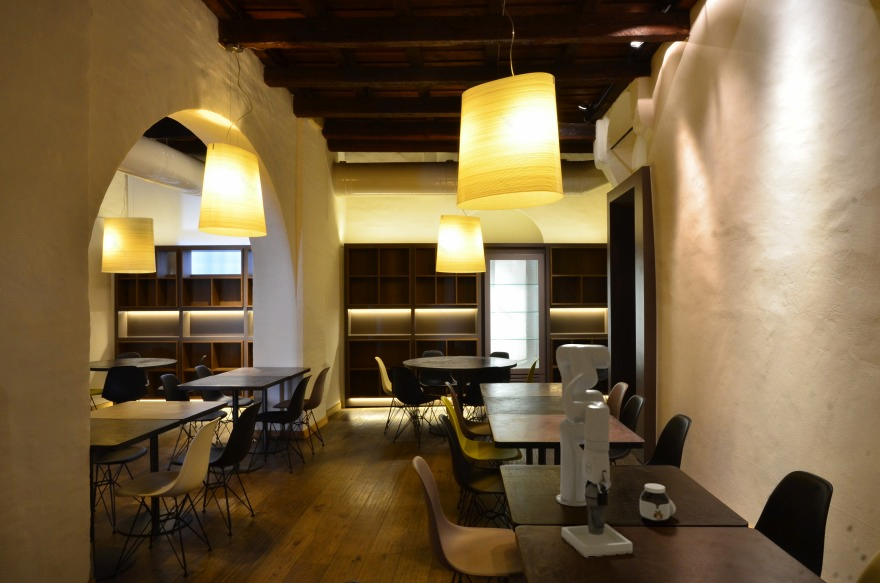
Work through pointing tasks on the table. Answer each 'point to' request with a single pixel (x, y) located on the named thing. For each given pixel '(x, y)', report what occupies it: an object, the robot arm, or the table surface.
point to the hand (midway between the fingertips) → (596, 500)
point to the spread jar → (656, 504)
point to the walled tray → (597, 541)
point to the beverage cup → (594, 510)
